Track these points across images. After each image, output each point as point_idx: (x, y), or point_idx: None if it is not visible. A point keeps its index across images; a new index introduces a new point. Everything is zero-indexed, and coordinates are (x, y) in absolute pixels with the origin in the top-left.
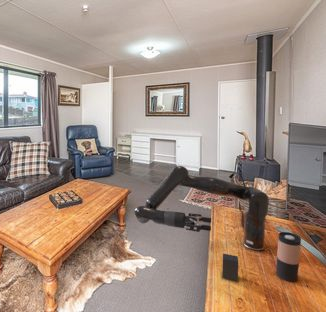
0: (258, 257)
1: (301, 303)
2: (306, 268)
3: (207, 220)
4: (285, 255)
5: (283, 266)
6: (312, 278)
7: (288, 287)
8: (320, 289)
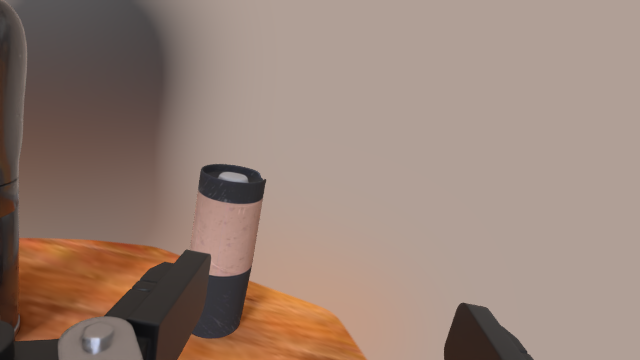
0: None
1: (334, 336)
2: None
3: (187, 314)
4: (249, 245)
5: (239, 288)
6: None
7: (271, 336)
8: (259, 285)
